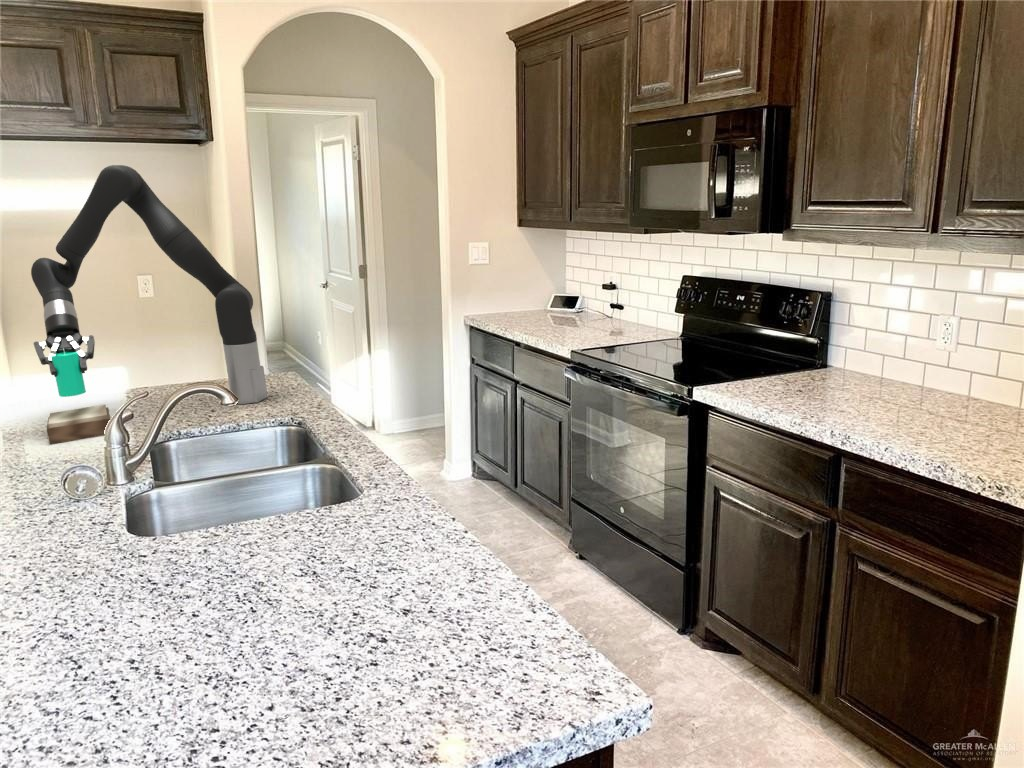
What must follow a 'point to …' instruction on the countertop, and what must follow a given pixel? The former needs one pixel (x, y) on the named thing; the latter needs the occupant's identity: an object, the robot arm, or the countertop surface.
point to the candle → (68, 374)
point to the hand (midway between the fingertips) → (69, 373)
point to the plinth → (77, 424)
